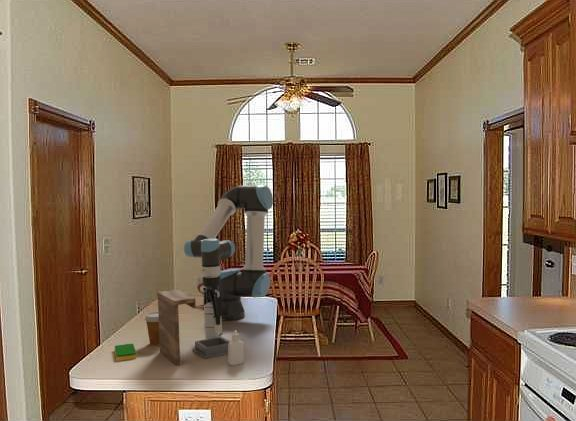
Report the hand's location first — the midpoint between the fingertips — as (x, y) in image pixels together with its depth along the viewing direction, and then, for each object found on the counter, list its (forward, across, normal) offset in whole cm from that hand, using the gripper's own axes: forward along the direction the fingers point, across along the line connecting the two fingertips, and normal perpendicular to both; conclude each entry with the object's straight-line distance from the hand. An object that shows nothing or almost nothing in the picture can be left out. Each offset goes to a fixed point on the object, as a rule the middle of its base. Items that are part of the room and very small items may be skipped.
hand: (213, 329), depth 223 cm
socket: (+4, +15, -6) cm, 17 cm away
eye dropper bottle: (+4, +33, -5) cm, 34 cm away
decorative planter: (+5, -63, +28) cm, 69 cm away
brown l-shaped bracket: (+4, +13, -20) cm, 25 cm away
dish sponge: (+4, -2, -36) cm, 37 cm away
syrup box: (+3, 0, 0) cm, 3 cm away
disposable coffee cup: (+4, -9, -21) cm, 23 cm away
